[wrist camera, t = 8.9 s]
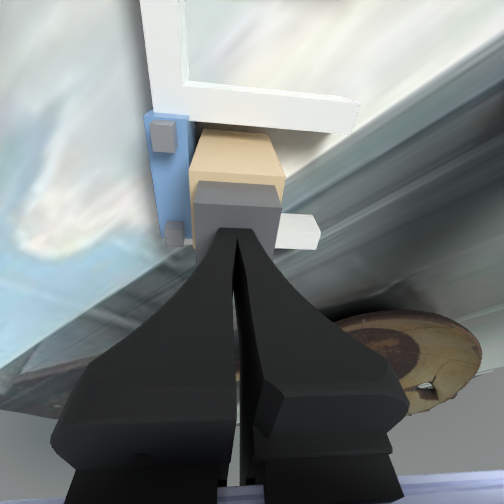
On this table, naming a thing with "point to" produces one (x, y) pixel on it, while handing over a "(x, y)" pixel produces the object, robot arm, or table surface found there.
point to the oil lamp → (418, 352)
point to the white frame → (216, 111)
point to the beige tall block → (235, 187)
